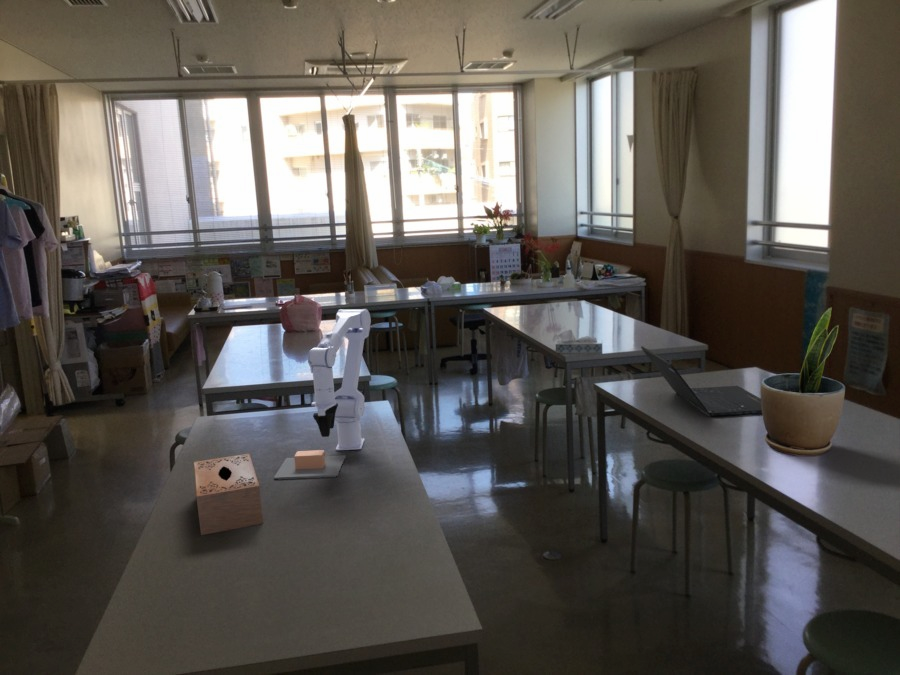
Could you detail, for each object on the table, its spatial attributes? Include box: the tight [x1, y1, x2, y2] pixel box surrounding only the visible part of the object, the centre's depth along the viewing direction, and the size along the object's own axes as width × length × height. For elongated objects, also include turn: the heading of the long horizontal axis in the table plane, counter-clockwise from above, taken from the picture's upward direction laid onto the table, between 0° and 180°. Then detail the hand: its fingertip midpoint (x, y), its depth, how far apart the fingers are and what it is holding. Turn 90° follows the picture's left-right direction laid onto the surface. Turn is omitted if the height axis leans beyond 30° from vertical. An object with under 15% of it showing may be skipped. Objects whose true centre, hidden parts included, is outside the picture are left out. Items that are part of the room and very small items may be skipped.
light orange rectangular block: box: [293, 449, 326, 469], centre depth 214 cm, size 8×4×4 cm, turn 90°
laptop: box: [640, 345, 762, 417], centre depth 258 cm, size 33×38×19 cm
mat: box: [273, 455, 347, 480], centre depth 214 cm, size 16×18×1 cm
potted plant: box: [760, 307, 846, 457], centre depth 208 cm, size 21×22×40 cm
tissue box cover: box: [193, 452, 264, 536], centre depth 187 cm, size 26×14×10 cm, turn 20°
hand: (327, 432), depth 217 cm, fingers open, 7 cm apart
